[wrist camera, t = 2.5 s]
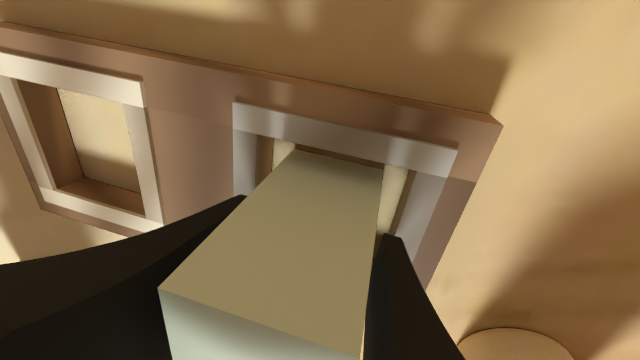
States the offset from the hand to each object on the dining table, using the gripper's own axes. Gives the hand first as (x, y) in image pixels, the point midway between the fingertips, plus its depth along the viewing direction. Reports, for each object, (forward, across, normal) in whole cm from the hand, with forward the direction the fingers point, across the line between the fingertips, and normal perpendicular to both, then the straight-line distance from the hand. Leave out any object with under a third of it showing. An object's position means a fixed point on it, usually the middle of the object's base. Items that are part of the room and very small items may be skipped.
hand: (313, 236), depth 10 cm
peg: (+3, 0, 0) cm, 3 cm away
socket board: (+3, +6, 0) cm, 7 cm away
